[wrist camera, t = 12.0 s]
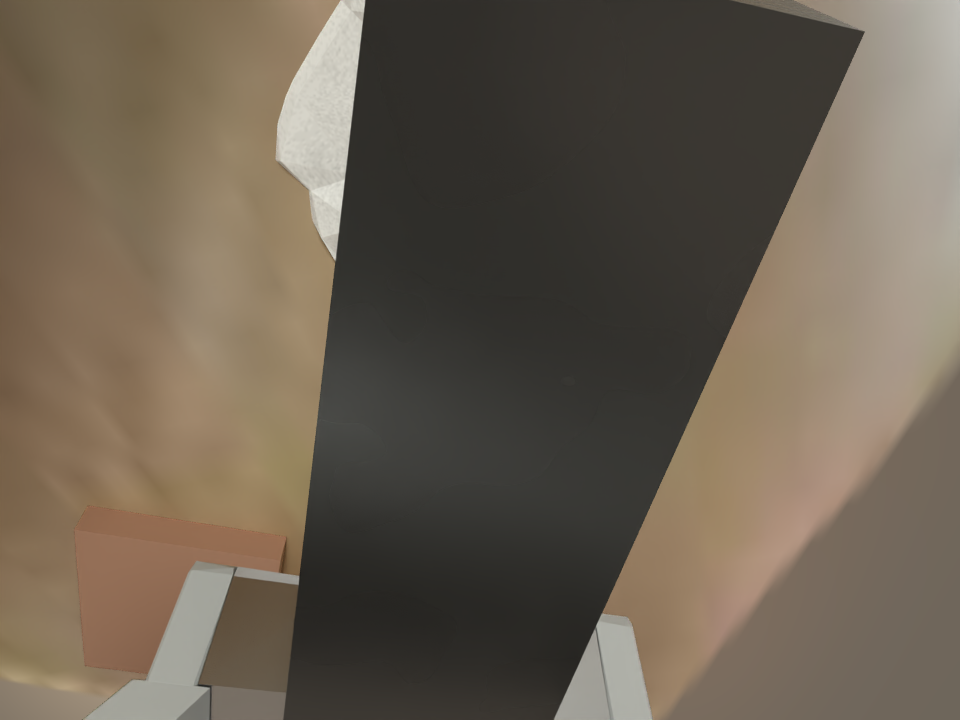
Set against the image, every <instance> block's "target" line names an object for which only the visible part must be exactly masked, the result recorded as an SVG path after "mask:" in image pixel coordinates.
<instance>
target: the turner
mask: <svg viewBox="0 0 960 720" xmlns="http://www.w3.org/2000/svg"><path fill="white" fill-rule="evenodd" d="M864 32H865V31H862V30H860V29H858V28H855V27H853V26H851V25H849V24H846V23H844V22H842V21H839V20H837V19H835V18H832V17H830V16H828V15H826V14H823V13H821V12H819V11H816V10H814V9H812V8H809V7H807V6H805V5H803V4H800V3H798V2H796V1H793V0H365V7H364V16H363V24H362V33H361V42H360V51H359V59H358V68H357V77H356V86H355V94H354V103H353V112H352V121H351V130H350V138H349V147H348V156H347V165H346V173H345V182H344V191H343V200H342V208H341V217H340V226H339V235H338V243H337V252H336V261H335V270H334V279H333V287H332V296H331V305H330V314H329V322H328V331H327V340H326V349H325V357H324V366H323V375H322V384H321V392H320V401H319V410H318V419H317V427H316V436H315V445H314V454H313V463H312V471H311V480H310V489H309V498H308V506H307V515H306V524H305V533H304V541H303V550H302V559H301V568H300V576H299V585H298V594H297V603H296V612H295V620H294V629H293V638H292V647H291V655H290V664H289V673H288V682H287V690H286V699H285V708H284V717H283V720H554V718H555V716H556V714H557V712H558V709H559V707H560V705H561V703H562V701H563V698H564V696H565V694H566V692H567V690H568V687H569V685H570V683H571V681H572V678H573V676H574V674H575V672H576V670H577V667H578V665H579V663H580V661H581V659H582V656H583V654H584V652H585V650H586V647H587V645H588V643H589V641H590V639H591V636H592V634H593V632H594V630H595V628H596V625H597V623H598V621H599V619H600V616H601V614H602V612H603V610H604V608H605V605H606V603H607V601H608V599H609V597H610V594H611V592H612V590H613V588H614V586H615V583H616V581H617V579H618V577H619V574H620V572H621V570H622V568H623V566H624V563H625V561H626V559H627V557H628V555H629V552H630V550H631V548H632V546H633V543H634V541H635V539H636V537H637V535H638V532H639V530H640V528H641V526H642V524H643V521H644V519H645V517H646V515H647V512H648V510H649V508H650V506H651V504H652V501H653V499H654V497H655V495H656V493H657V490H658V488H659V486H660V484H661V482H662V479H663V477H664V475H665V473H666V470H667V468H668V466H669V464H670V462H671V459H672V457H673V455H674V453H675V451H676V448H677V446H678V444H679V442H680V439H681V437H682V435H683V433H684V431H685V428H686V426H687V424H688V422H689V420H690V417H691V415H692V413H693V411H694V408H695V406H696V404H697V402H698V400H699V397H700V395H701V393H702V391H703V389H704V386H705V384H706V382H707V380H708V378H709V375H710V373H711V371H712V369H713V366H714V364H715V362H716V360H717V358H718V355H719V353H720V351H721V349H722V347H723V344H724V342H725V340H726V338H727V335H728V333H729V331H730V329H731V327H732V324H733V322H734V320H735V318H736V316H737V313H738V311H739V309H740V307H741V305H742V302H743V300H744V298H745V296H746V293H747V291H748V289H749V287H750V285H751V282H752V280H753V278H754V276H755V274H756V271H757V269H758V267H759V265H760V262H761V260H762V258H763V256H764V254H765V251H766V249H767V247H768V245H769V243H770V240H771V238H772V236H773V234H774V231H775V229H776V227H777V225H778V223H779V220H780V218H781V216H782V214H783V212H784V209H785V207H786V205H787V203H788V201H789V198H790V196H791V194H792V192H793V189H794V187H795V185H796V183H797V181H798V178H799V176H800V174H801V172H802V170H803V167H804V165H805V163H806V161H807V158H808V156H809V154H810V152H811V150H812V147H813V145H814V143H815V141H816V139H817V136H818V134H819V132H820V130H821V127H822V125H823V123H824V121H825V119H826V116H827V114H828V112H829V110H830V108H831V105H832V103H833V101H834V99H835V97H836V94H837V92H838V90H839V88H840V85H841V83H842V81H843V79H844V77H845V74H846V72H847V70H848V68H849V66H850V63H851V61H852V59H853V57H854V54H855V52H856V50H857V48H858V46H859V43H860V41H861V39H862V37H863V35H864Z"/></svg>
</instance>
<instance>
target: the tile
mask: <svg viewBox="0 0 960 720" xmlns="http://www.w3.org/2000/svg"><path fill="white" fill-rule="evenodd" d="M74 534H75V547H76V559H77V572H78V585H79V598H80V611H81V624H82V636H83V649H84V662H85V666H90V667H98V668H106V669H114V670H122V671H130V672H138V673H146V674H148V673H149V670H150V668H151V665H152V663H153V660H154V658H155V655H156V653H157V650H158V648H159V645H160V643H161V640H162V638H163V635H164V632H165V630H166V627H167V625H168V622H169V620H170V617H171V615H172V612H173V610H174V607H175V605H176V602H177V600H178V597H179V595H180V592H181V590H182V587H183V584H184V582H185V579H186V577H187V574H188V572H189V571H190V569H191V568H192V566H193V565H194V563H195V562H196V561H201V562H208V563H215V564H222V565H230V566H237V567H244V568H250V569H257V570H263V571H270V572H276V573H281V571H282V564H283V558H284V551H285V544H286V537H284V536H278V535H272V534H265V533H259V532H253V531H246V530H240V529H234V528H227V527H221V526H215V525H208V524H202V523H196V522H189V521H183V520H177V519H170V518H164V517H158V516H151V515H145V514H139V513H132V512H126V511H120V510H113V509H107V508H101V507H94V506H87V508H86V510H85V512H84V513H83V515H82V517H81V519H80V520H79V522H78V524H77V526H76V527H75V529H74Z"/></svg>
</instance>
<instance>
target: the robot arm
mask: <svg viewBox="0 0 960 720" xmlns="http://www.w3.org/2000/svg"><path fill="white" fill-rule="evenodd" d="M298 585H299V576H296V575H289V574H283V573H276V572H270V571H263V570H257V569H250V568H244V567H237V566H230V565H222V564H215V563H208V562H201V561H196V562H195V563H194V565H193V566H192V568H191V569H190V571H189V572H188V574H187V577H186V579H185V582H184V584H183V587H182V590H181V592H180V595H179V597H178V600H177V602H176V605H175V607H174V610H173V612H172V615H171V617H170V620H169V622H168V625H167V627H166V630H165V632H164V635H163V638H162V640H161V643H160V645H159V648H158V650H157V653H156V655H155V658H154V660H153V663H152V665H151V668H150V670H149V673H148V675H147V678H146V680H139V679H132V680H131V681H129V682H128V683H127V684H126V685H125V686H123V687H122V688H121V689H120V690H118V691H117V692H116V693H115V694H113V695H112V696H111V697H110V698H108V699H107V700H106V701H105V702H104V703H102V704H101V705H100V706H99V707H97V708H96V709H95V710H94V711H92V712H91V713H90V714H89V715H87V716H86V717H85V718H84V719H82V720H283V717H284V708H285V699H286V690H287V682H288V673H289V664H290V655H291V647H292V638H293V629H294V620H295V612H296V603H297V594H298ZM554 720H653V717H652V713H651V708H650V703H649V699H648V694H647V690H646V685H645V681H644V676H643V671H642V667H641V662H640V658H639V653H638V649H637V644H636V639H635V635H634V630H633V626H632V623H631V622H630V620H629V619H628V617H624V616H616V615H609V614H601V616H600V619H599V621H598V623H597V625H596V628H595V630H594V632H593V634H592V636H591V639H590V641H589V643H588V645H587V647H586V650H585V652H584V654H583V656H582V659H581V661H580V663H579V665H578V667H577V670H576V672H575V674H574V676H573V678H572V681H571V683H570V685H569V687H568V690H567V692H566V694H565V696H564V698H563V701H562V703H561V705H560V707H559V709H558V712H557V714H556V716H555V718H554Z"/></svg>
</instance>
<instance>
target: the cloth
mask: <svg viewBox="0 0 960 720" xmlns="http://www.w3.org/2000/svg"><path fill="white" fill-rule="evenodd" d="M364 7H365V0H341V1H340V3H339V4H338V6H337V7H336V9H335V10H334V12H333V14H332V15H331V17H330V18H329V20H328V22H327V23H326V25H325V26H324V28H323V30H322V31H321V33H320V34H319V36H318V38H317V40H316V41H315V43H314V45H313V46H312V48H311V50H310V52H309V53H308V55H307V57H306V59H305V60H304V62H303V64H302V65H301V67H300V69H299V71H298V72H297V74H296V76H295V77H294V79H293V81H292V84H291V86H290V88H289V90H288V93H287V95H286V98H285V101H284V104H283V108H282V111H281V114H280V118H279V121H278V125H277V144H276V161H277V162H278V163H279V164H281V165H282V166H283V167H284V168H285V169H286V170H287V171H288V172H289V173H290V174H292V175H293V176H294V177H295V178H296V179H297V180H298V181H299V182H300V183H302V184H303V185H304V186H305V187H306V188H307V189H308V190H309V195H310V204H311V213H312V220H313V222H314V224H315V226H316V228H317V230H318V232H319V235H320V237H321V238H322V240H323V242H324V243H325V245H326V247H327V248H328V250H329V251H330V253H331V255H332V256H333V258H334V260H335V261H336V252H337V243H338V235H339V226H340V217H341V208H342V200H343V191H344V182H345V173H346V165H347V156H348V147H349V138H350V130H351V121H352V112H353V103H354V94H355V86H356V77H357V68H358V59H359V51H360V42H361V33H362V24H363V16H364Z"/></svg>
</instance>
